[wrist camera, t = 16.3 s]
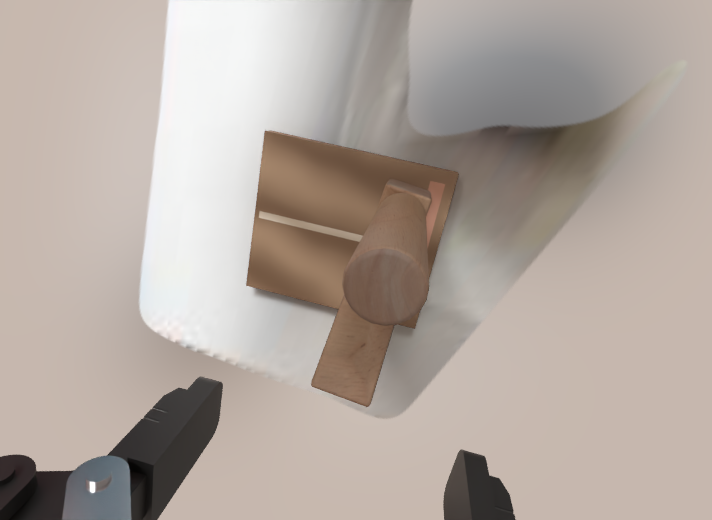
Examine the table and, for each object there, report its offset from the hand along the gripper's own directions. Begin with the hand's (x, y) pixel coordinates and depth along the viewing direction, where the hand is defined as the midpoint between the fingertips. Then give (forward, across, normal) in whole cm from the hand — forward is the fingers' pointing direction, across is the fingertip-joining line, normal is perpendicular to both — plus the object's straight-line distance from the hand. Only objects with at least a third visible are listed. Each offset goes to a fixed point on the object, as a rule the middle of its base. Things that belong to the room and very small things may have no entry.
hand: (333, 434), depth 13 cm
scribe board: (+24, +4, 0) cm, 24 cm away
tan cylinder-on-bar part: (+23, 0, 0) cm, 23 cm away
